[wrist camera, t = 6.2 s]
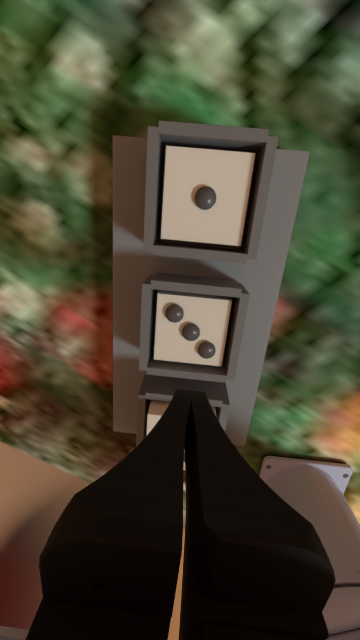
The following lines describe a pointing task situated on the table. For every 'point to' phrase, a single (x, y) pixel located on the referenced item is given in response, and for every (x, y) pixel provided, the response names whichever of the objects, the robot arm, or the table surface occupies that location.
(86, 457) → the table surface
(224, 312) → the three pip button
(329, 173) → the table surface
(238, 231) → the one pip button
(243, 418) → the button panel
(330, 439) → the table surface
